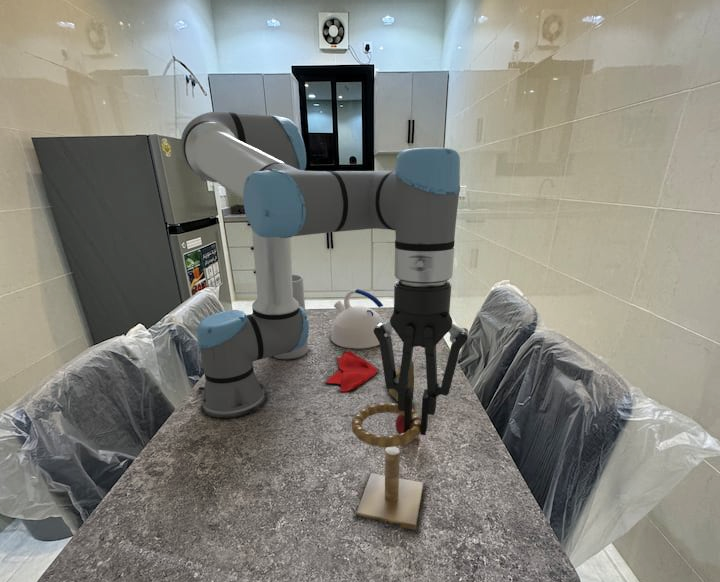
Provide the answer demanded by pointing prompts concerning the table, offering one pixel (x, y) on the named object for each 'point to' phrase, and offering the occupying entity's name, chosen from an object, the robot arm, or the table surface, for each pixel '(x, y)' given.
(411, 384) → the rock
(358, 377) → the cloth
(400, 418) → the onion
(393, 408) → the gold beaded ring
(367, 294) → the kettle
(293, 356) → the cylinder vase
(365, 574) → the table surface
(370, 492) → the stand
